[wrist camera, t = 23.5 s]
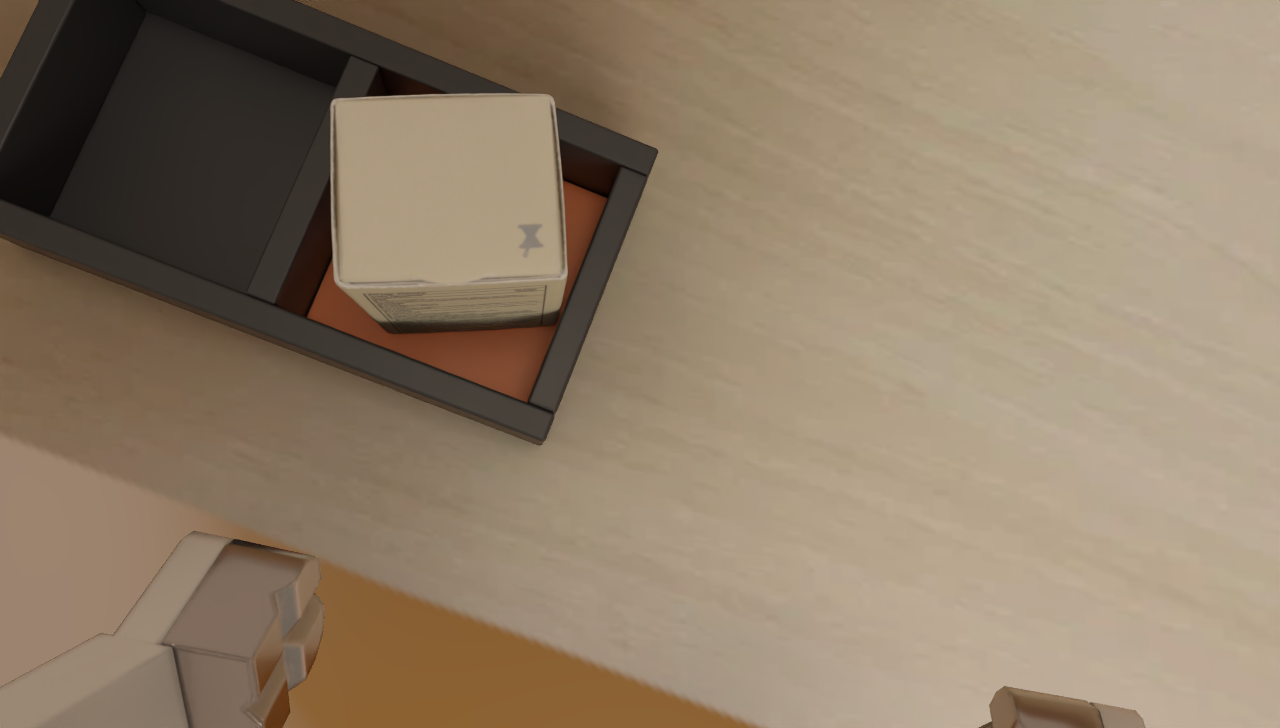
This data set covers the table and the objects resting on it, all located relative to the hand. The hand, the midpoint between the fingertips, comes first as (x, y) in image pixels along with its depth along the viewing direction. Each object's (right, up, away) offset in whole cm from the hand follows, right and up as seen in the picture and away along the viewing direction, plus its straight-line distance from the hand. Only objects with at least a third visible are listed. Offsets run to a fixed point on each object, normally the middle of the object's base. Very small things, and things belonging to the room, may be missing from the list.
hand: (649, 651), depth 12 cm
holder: (-9, +8, +18) cm, 22 cm away
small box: (-5, +6, +18) cm, 20 cm away
